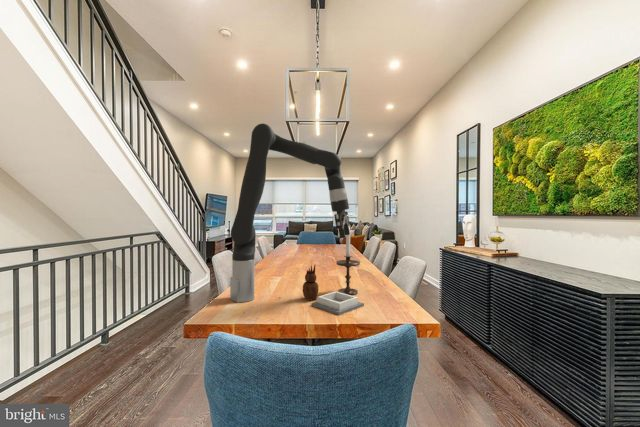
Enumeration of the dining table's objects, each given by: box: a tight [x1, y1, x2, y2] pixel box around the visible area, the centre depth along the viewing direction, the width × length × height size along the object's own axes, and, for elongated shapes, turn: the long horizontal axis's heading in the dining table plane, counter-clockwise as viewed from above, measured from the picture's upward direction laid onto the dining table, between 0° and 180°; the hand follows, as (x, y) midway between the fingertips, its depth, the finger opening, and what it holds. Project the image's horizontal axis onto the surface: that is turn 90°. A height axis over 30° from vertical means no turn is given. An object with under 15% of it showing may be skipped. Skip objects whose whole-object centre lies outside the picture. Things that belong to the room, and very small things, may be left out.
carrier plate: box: [311, 290, 365, 316], centre depth 117 cm, size 15×15×4 cm
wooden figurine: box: [302, 264, 319, 301], centre depth 125 cm, size 7×6×15 cm
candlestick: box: [335, 227, 361, 296], centre depth 135 cm, size 11×11×35 cm
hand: (345, 236), depth 127 cm, fingers open, 8 cm apart
